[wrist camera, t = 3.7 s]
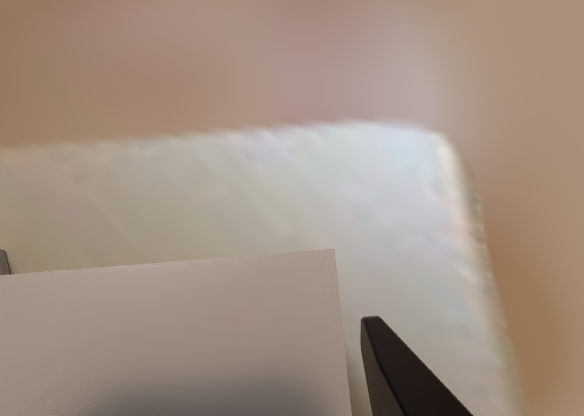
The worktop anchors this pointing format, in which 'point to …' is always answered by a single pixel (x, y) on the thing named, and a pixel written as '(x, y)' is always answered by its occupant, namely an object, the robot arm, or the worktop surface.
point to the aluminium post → (176, 339)
